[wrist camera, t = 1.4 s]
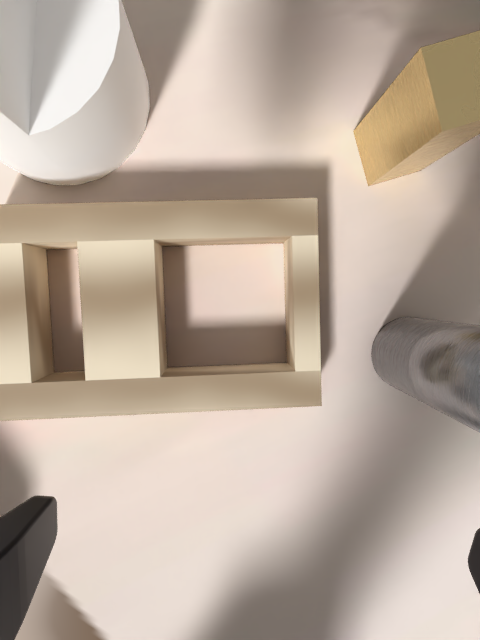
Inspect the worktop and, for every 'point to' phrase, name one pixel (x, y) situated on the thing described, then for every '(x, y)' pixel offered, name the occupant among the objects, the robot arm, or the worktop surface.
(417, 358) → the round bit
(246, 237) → the block
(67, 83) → the cylinder with rectangular tab
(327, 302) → the worktop surface
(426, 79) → the square bit
